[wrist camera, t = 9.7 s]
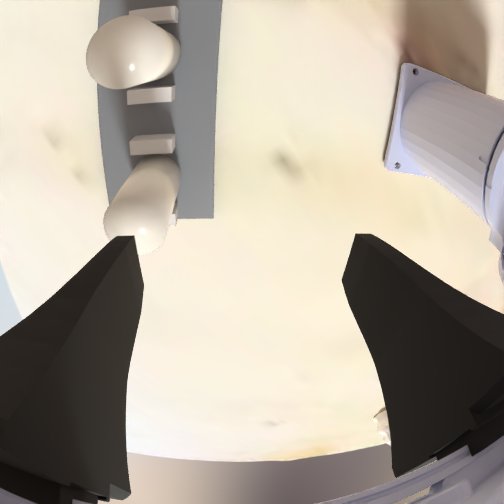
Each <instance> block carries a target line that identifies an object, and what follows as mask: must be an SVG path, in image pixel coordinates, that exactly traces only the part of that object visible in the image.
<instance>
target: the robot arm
mask: <svg viewBox="0 0 504 504" xmlns="http://www.w3.org/2000/svg"><path fill="white" fill-rule="evenodd" d="M413 69H415V72H416V73H415V74H413ZM397 162H398V165H397V166H396V167H395V164H396V163H397ZM384 167H385V168H386V169H387V170H388V171H392V172H399V173H406V174H412V175H418V176H424V177H430V178H432V179H433V180H435V181H436V182H437V183H439V184H440V185H441V186H443V187H444V188H445V189H446V190H448V191H449V192H450V193H452V194H453V195H454V196H455V197H456V198H458V199H459V200H460V201H461V202H463V203H464V204H465V205H466V206H467V207H469V208H470V209H471V210H472V211H473V212H474V213H476V214H477V215H478V216H479V217H480V218H481V219H482V220H483V221H485V222H486V223H487V224H488V225H489V226H490V238H489V241H490V242H491V243H492V244H493V245H494V246H495V247H496V248H497V249H498V250H499V251H500V252H501V254H500V258H499V274H500V277H501V280H502V282H503V284H504V101H503V100H501V99H498V98H495V97H492V96H489V95H486V94H484V93H480V92H477V91H474V90H472V89H470V88H468V87H466V86H464V85H462V84H460V83H458V82H455V81H453V80H451V79H449V78H447V77H444V76H442V75H440V74H437V73H435V72H432V71H430V70H427V69H425V68H422V67H420V66H417V65H414V64H411V63H403V64H402V66H401V72H400V79H399V86H398V93H397V99H396V105H395V110H394V116H393V121H392V127H391V132H390V136H389V141H388V146H387V151H386V155H385V160H384ZM342 283H343V286H344V290H345V294H346V297H347V300H348V303H349V306H350V308H351V310H352V313H353V315H354V317H355V319H356V321H357V324H358V326H359V328H360V330H361V333H362V335H363V337H364V339H365V342H366V344H367V346H368V348H369V351H370V353H371V355H372V358H373V361H374V363H375V366H376V370H377V373H378V377H379V381H380V384H381V388H382V392H383V397H384V401H385V406H386V411H387V417H388V423H389V430H390V439H391V450H392V469H393V472H394V475H395V477H396V478H397V477H399V476H402V475H404V474H406V473H409V472H411V471H413V470H416V469H418V468H420V467H423V466H425V465H427V464H429V463H431V462H433V461H435V460H438V461H436V462H434V463H433V464H430V465H428V466H426V467H424V468H422V469H419V470H417V471H415V472H413V473H410V474H408V475H406V476H403V477H401V478H398V479H396V480H393V481H390V482H388V483H385V484H382V485H379V486H377V487H374V488H371V489H368V490H365V491H362V492H358V493H355V494H352V495H348V496H345V497H341V498H337V499H334V500H329V501H325V502H321V503H316V504H392V503H394V502H397V501H399V500H401V499H404V498H406V497H408V496H411V495H413V494H415V493H417V492H419V491H421V490H423V489H425V488H427V487H429V486H431V485H432V486H431V487H430V491H429V493H428V494H427V495H424V496H422V497H419V498H417V499H414V500H412V501H409V502H407V503H405V504H504V314H502V313H500V312H498V311H495V310H493V309H491V308H489V307H487V306H485V305H483V304H481V303H479V302H477V301H475V300H474V299H472V298H470V297H468V296H466V295H465V294H463V293H461V292H460V291H458V290H456V289H454V288H453V287H451V286H450V285H448V284H446V283H445V282H443V281H442V280H440V279H439V278H437V277H436V276H434V275H433V274H431V273H430V272H428V271H427V270H425V269H424V268H423V267H421V266H420V265H418V264H417V263H415V262H414V261H413V260H411V259H410V258H408V257H407V256H405V255H404V254H402V253H401V252H400V251H398V250H397V249H395V248H394V247H392V246H391V245H389V244H388V243H386V242H384V241H383V240H381V239H380V238H378V237H376V236H374V235H372V234H355V238H354V241H353V245H352V248H351V251H350V255H349V258H348V261H347V265H346V268H345V271H344V274H343V277H342ZM143 290H144V283H143V278H142V273H141V268H140V263H139V258H138V253H137V247H136V241H135V235H131V236H116V237H115V238H113V239H112V240H111V241H110V242H109V243H108V244H107V245H106V246H105V247H104V248H102V249H101V250H100V251H99V252H98V253H97V254H96V255H95V256H94V257H93V258H92V259H91V260H90V261H89V262H88V263H87V264H86V265H85V266H84V267H83V268H82V269H81V270H80V271H79V272H78V273H77V274H76V275H75V276H73V277H72V278H71V279H70V280H69V281H68V282H67V283H66V284H65V285H64V286H63V287H62V288H61V289H59V290H58V291H57V292H56V293H55V294H54V295H53V296H52V297H51V298H49V299H48V300H47V301H46V302H45V303H44V304H42V305H41V306H40V307H39V308H38V309H36V310H35V311H34V312H33V313H31V314H30V315H29V316H28V317H26V318H25V319H24V320H22V321H21V322H19V323H18V324H17V325H16V326H14V327H13V328H11V329H10V330H8V331H7V332H6V333H4V334H3V335H2V336H0V504H97V503H98V500H101V501H106V502H109V501H110V498H112V499H118V500H124V499H126V498H127V497H128V496H129V495H130V494H131V490H130V482H129V474H128V465H127V451H126V392H127V379H128V372H129V366H130V361H131V356H132V351H133V347H134V342H135V337H136V333H137V328H138V324H139V319H140V315H141V308H142V299H143Z"/></svg>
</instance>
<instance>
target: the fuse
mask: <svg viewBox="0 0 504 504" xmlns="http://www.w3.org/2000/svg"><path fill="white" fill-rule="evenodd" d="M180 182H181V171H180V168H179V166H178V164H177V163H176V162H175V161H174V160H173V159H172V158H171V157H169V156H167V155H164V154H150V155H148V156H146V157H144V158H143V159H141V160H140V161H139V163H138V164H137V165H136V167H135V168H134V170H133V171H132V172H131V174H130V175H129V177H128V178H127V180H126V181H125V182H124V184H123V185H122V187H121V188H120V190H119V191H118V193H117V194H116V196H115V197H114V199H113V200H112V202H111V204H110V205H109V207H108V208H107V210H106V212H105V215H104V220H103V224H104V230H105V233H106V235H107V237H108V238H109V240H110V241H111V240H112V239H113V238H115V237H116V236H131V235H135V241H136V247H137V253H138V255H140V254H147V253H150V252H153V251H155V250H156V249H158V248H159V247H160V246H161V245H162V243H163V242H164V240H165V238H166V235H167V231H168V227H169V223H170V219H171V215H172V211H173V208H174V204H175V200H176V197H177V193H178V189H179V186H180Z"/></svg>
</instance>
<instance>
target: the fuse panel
mask: <svg viewBox="0 0 504 504" xmlns="http://www.w3.org/2000/svg"><path fill="white" fill-rule="evenodd" d="M221 11H222V0H100V5H99V18H98V29H99V28H100V27H101V26H103V25H104V24H105V23H107V22H108V21H110V20H112V19H114V18H117V17H120V16H126V15H135V16H140V17H143V18H145V19H147V20H149V21H150V22H152V23H154V24H156V25H157V26H159V27H161V28H162V29H164V30H166V31H167V32H169V33H170V34H172V35H173V36H175V37H176V38H177V40H178V41H179V43H180V45H181V49H182V55H181V60H180V62H179V64H178V66H177V67H176V69H175V70H174V71H173V72H172V73H171V74H169V75H168V76H166V77H164V78H161V79H158V80H154V81H150V82H146V83H143V84H139V85H136V86H133V87H129V88H125V89H110V88H106V87H104V86H102V85H100V84H98V83H97V93H98V113H99V127H100V138H101V148H102V157H103V166H104V173H105V180H106V187H107V194H108V200H109V205H110V204H111V202H112V200H113V199H114V197H115V196H116V194H117V193H118V191H119V190H120V188H121V187H122V185H123V184H124V182H125V181H126V180H127V178H128V177H129V175H130V174H131V172H132V171H133V170H134V168H135V167H136V165H137V164H138V163H139V161H140V160H141V159H143V158H144V157H146V156H148V155H150V154H164V155H167V156H169V157H171V158H172V159H173V160H174V161H175V162H176V163H177V164H178V166H179V168H180V171H181V182H180V186H179V189H178V193H177V197H176V200H175V204H174V208H173V211H172V215H171V219H170V223H169V226H176V224H177V219H195V218H214V153H215V118H216V93H217V72H218V54H219V38H220V24H221Z"/></svg>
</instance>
